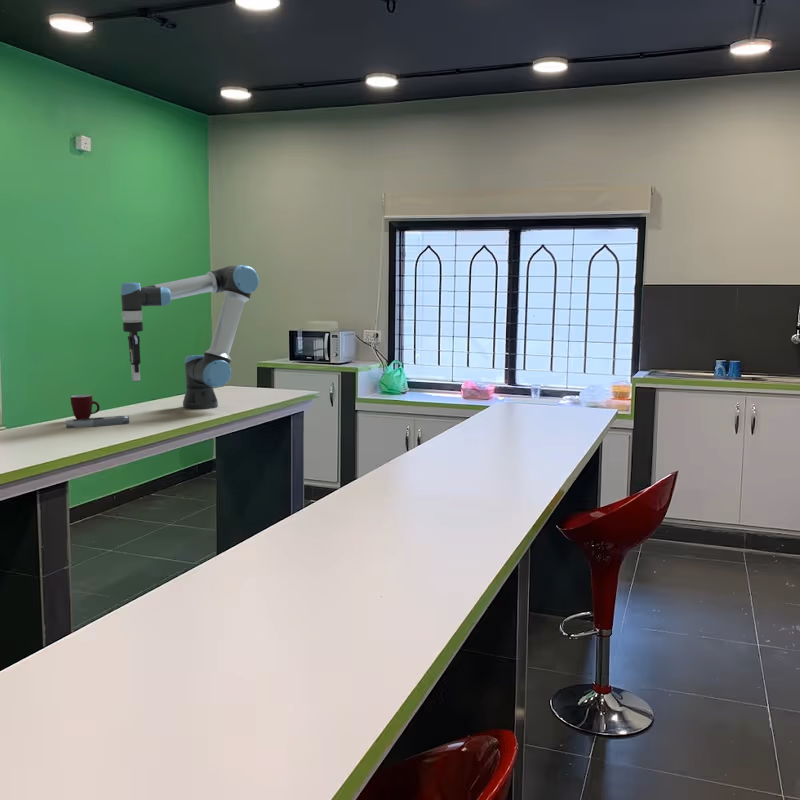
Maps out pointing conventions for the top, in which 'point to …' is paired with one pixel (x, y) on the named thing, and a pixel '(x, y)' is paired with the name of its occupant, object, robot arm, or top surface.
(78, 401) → the mug
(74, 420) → the grey rounded bar
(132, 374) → the pin
